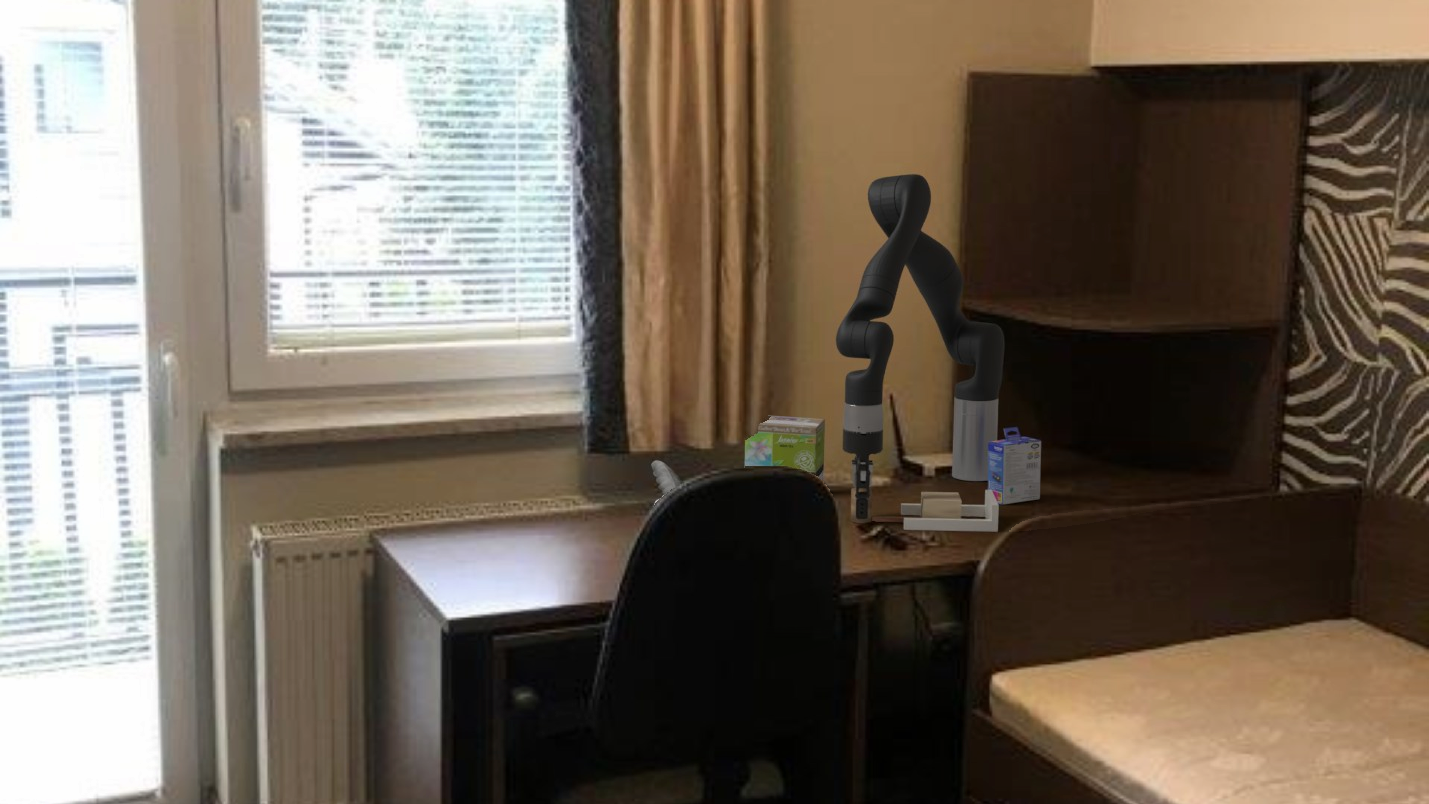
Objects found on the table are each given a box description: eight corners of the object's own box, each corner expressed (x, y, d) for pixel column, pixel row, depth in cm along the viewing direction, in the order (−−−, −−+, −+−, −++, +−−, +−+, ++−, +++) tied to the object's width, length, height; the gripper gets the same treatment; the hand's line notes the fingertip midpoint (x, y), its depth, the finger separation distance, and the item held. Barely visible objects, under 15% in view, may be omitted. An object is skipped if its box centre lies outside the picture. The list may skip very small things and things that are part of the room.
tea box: (743, 493, 315) (743, 422, 312) (753, 482, 324) (754, 413, 322) (816, 497, 311) (817, 425, 308) (824, 486, 321) (825, 416, 318)
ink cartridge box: (1022, 494, 314) (1025, 424, 312) (1041, 499, 309) (1044, 429, 307) (985, 500, 309) (987, 429, 307) (1003, 505, 305) (1005, 433, 302)
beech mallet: (850, 516, 296) (850, 485, 295) (957, 518, 295) (958, 487, 293) (851, 525, 289) (851, 493, 288) (960, 527, 288) (961, 495, 287)
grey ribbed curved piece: (660, 530, 285) (660, 477, 283) (626, 508, 301) (626, 458, 300) (706, 525, 289) (706, 473, 287) (670, 504, 305) (670, 454, 303)
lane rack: (900, 513, 298) (901, 488, 297) (990, 515, 297) (991, 489, 296) (903, 529, 286) (904, 503, 285) (997, 531, 285) (998, 505, 284)
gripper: (842, 419, 296) (840, 506, 299) (843, 433, 282) (841, 524, 285) (881, 420, 296) (879, 507, 299) (884, 434, 282) (882, 525, 285)
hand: (861, 515), depth 292 cm, fingers closed on beech mallet, 4 cm apart
